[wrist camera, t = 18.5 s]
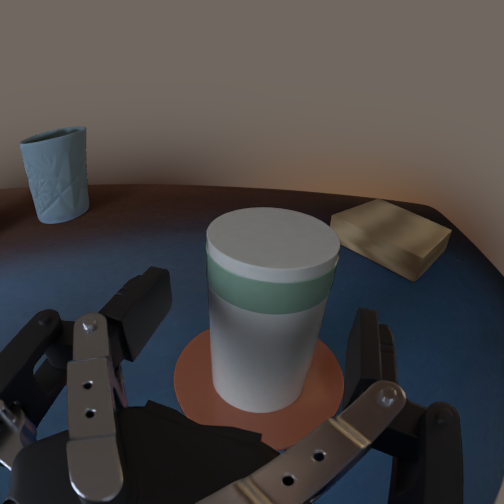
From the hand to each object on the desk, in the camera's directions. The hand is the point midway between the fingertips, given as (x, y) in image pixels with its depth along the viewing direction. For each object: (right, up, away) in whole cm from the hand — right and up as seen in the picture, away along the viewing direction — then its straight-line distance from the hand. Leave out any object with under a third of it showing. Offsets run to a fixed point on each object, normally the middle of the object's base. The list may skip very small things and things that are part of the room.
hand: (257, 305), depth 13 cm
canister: (0, -6, +6) cm, 9 cm away
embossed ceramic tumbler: (-28, +8, +28) cm, 41 cm away
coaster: (0, -6, +7) cm, 9 cm away
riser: (+17, +3, +24) cm, 30 cm away
